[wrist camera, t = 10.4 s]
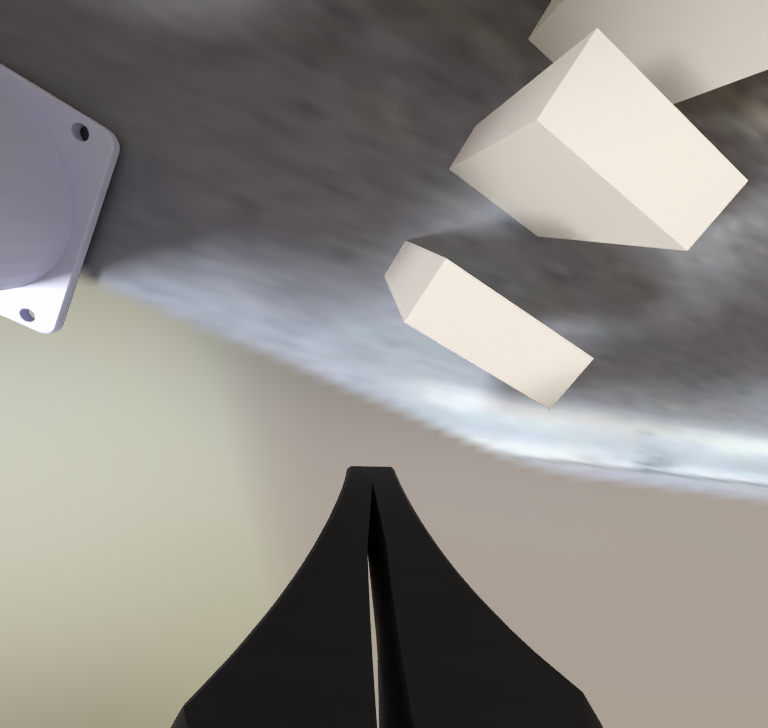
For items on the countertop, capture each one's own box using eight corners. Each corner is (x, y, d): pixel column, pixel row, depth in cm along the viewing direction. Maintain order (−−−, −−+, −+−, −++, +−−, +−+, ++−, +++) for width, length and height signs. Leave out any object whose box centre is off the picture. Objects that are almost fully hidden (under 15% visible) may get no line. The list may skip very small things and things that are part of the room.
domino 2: (528, 39, 12) (733, -182, 5) (560, -15, 11) (828, -327, 5) (618, 124, 13) (881, 27, 6) (651, 78, 12) (970, -75, 6)
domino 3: (448, 169, 13) (536, 120, 7) (475, 126, 13) (597, 27, 6) (537, 236, 14) (687, 250, 8) (564, 199, 14) (748, 180, 7)
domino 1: (384, 276, 14) (404, 322, 8) (405, 240, 14) (446, 258, 7) (469, 329, 15) (549, 409, 9) (492, 298, 15) (593, 358, 9)
